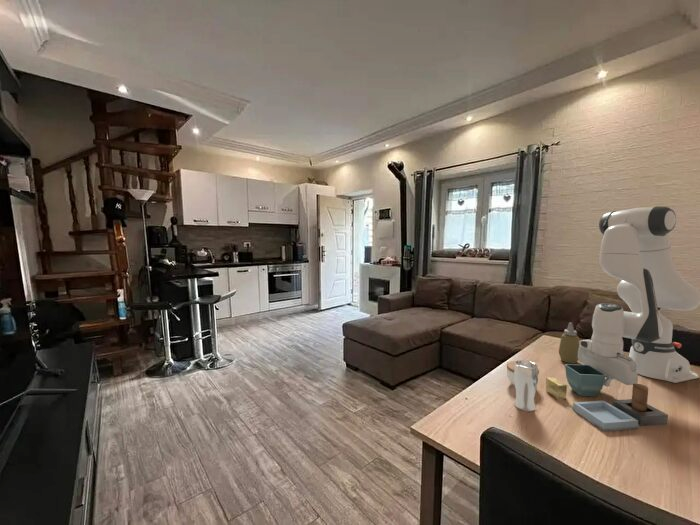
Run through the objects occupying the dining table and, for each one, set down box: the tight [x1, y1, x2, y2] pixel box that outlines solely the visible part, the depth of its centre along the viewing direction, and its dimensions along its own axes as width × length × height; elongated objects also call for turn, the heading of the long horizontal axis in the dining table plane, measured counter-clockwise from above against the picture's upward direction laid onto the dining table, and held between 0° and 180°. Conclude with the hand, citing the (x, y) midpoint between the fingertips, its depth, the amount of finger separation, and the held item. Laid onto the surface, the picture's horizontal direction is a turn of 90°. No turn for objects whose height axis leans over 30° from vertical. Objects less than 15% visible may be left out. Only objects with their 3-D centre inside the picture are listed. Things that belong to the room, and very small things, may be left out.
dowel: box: [631, 383, 649, 412], centre depth 94 cm, size 4×4×10 cm
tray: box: [572, 400, 639, 432], centre depth 94 cm, size 11×11×2 cm
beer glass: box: [514, 359, 539, 413], centre depth 100 cm, size 7×7×15 cm
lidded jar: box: [506, 360, 540, 388], centre depth 114 cm, size 11×11×9 cm
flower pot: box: [564, 363, 606, 397], centre depth 109 cm, size 9×9×9 cm
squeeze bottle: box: [558, 322, 580, 364], centre depth 136 cm, size 8×8×18 cm
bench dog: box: [545, 376, 568, 400], centre depth 108 cm, size 3×6×5 cm, turn 5°
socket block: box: [611, 398, 669, 427], centre depth 95 cm, size 9×9×3 cm
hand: (604, 384), depth 110 cm, fingers closed
